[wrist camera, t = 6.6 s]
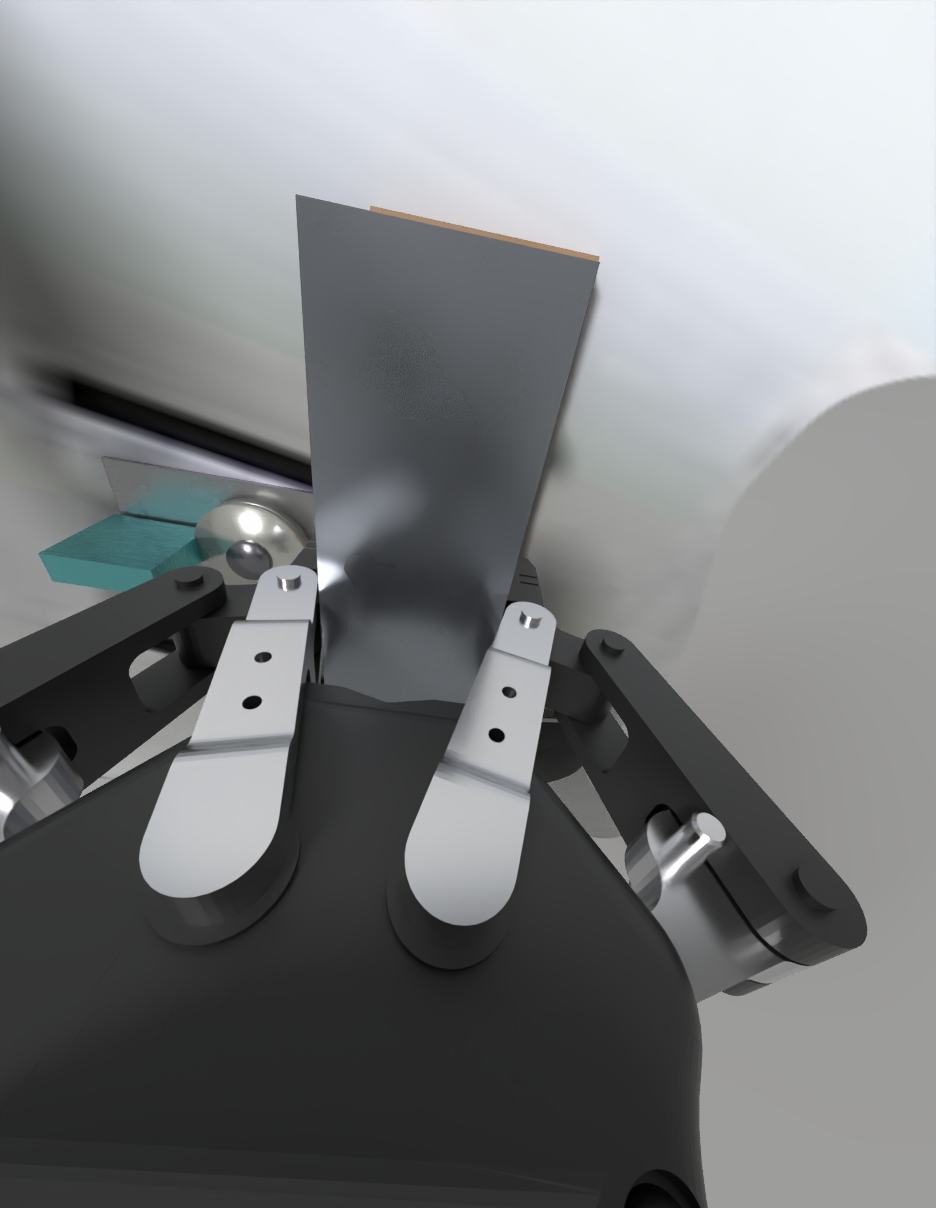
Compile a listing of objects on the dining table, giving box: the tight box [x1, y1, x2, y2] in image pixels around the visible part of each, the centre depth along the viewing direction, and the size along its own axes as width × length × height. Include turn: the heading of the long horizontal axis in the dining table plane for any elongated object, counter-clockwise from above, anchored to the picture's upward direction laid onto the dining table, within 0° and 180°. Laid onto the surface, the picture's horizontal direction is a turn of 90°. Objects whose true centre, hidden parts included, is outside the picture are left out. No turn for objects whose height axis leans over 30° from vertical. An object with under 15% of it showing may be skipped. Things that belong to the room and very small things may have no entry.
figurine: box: [534, 718, 583, 782], centre depth 38 cm, size 8×10×15 cm
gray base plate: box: [101, 456, 323, 652], centre depth 32 cm, size 15×18×1 cm
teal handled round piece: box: [38, 498, 309, 592], centre depth 27 cm, size 8×14×6 cm, turn 80°
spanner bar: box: [296, 194, 600, 704], centre depth 12 cm, size 18×6×5 cm, turn 170°
